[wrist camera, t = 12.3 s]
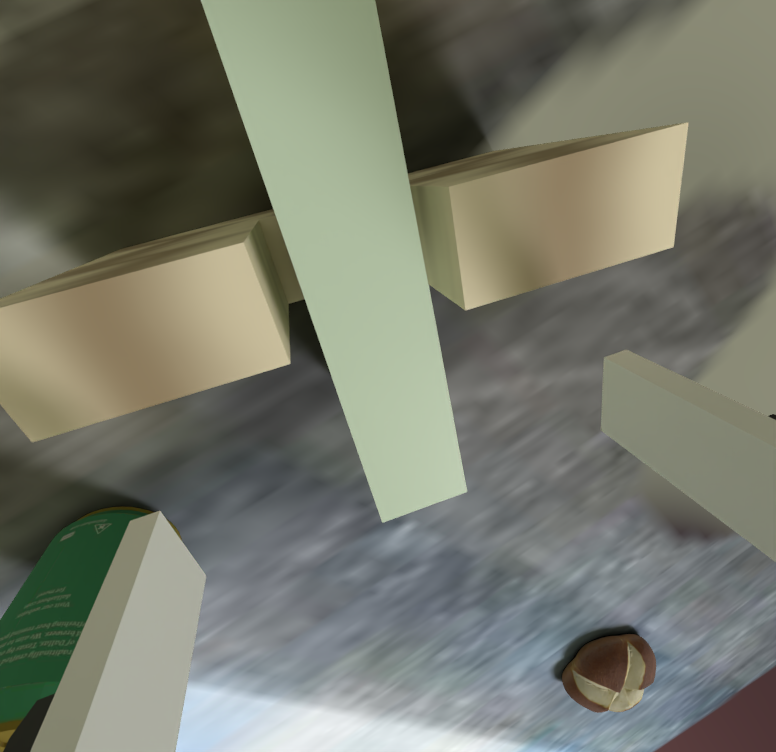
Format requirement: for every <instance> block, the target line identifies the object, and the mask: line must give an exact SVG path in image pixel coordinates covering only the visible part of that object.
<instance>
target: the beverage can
mask: <svg viewBox="0 0 776 752" xmlns="http://www.w3.org/2000/svg"><path fill="white" fill-rule="evenodd" d="M152 513H154V512H152V511H149V510H145V509H141V508H135V507H110V508H105V509H100V510H97V511H94V512H91V513H89V514H87V515H85V516H83V517H82V518H80V519H78V520H77V521H76V522H74V523H72V524H70V525H68V526H67V527H65V528H64V529H62V530H61V531H60V532H59V533H58V534H57V535H56V536H55V537H54V539H53V540H52V541H51V543H50V544H49V546H48V547H47V549H46V550H45V552H44V554H43V555H42V557H41V558H40V560H39V561H38V563H37V564H36V566H35V567H34V569H33V570H32V572H31V574H30V575H29V577H28V578H27V580H26V581H25V583H24V584H23V586H22V587H21V589H20V590H19V592H18V594H17V595H16V597H15V598H14V600H13V601H12V603H11V604H10V606H9V607H8V609H7V611H6V612H5V614H4V615H3V617H2V618H1V620H0V752H3V751H4V749H5V746H6V744H7V742H8V740H9V738H10V737H11V735H12V734H13V733H14V731H15V730H16V728H17V727H18V726H19V724H20V723H21V722H22V720H23V719H24V718H25V716H26V715H27V713H28V712H29V711H30V709H31V708H32V707H33V705H34V704H35V702H36V701H37V700H39V699H42V698H44V697H47V696H49V695H52V694H55V693H56V691H57V689H58V686H59V684H60V682H61V679H62V677H63V675H64V672H65V670H66V668H67V665H68V663H69V661H70V658H71V656H72V654H73V652H74V649H75V647H76V645H77V642H78V640H79V638H80V635H81V633H82V631H83V628H84V626H85V624H86V621H87V619H88V617H89V615H90V612H91V610H92V608H93V605H94V603H95V601H96V598H97V596H98V594H99V591H100V589H101V587H102V584H103V582H104V580H105V578H106V575H107V573H108V571H109V568H110V566H111V564H112V561H113V559H114V557H115V554H116V552H117V550H118V548H119V545H120V543H121V541H122V538H123V536H124V534H125V531H126V529H127V527H128V524H129V522H130V521H131V520H134V519H137V518H140V517H143V516H146V515H149V514H152ZM166 520H167V519H166ZM167 521H168V522H169V524H170V525H171V527H172V528H173V530H174V531H175V532H176V534H177V535H178V537H179V538H180V539H181V536H180V534H179V532H178V530H177V529H176V527H175V526H174V525H173V524H172V523H171V522H170V521H169V520H167ZM181 541H182V540H181Z"/></svg>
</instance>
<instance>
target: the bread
mask: <svg viewBox="0 0 776 752" xmlns="http://www.w3.org/2000/svg"><path fill="white" fill-rule="evenodd" d="M655 671H656V660H655V655H654V653H653V651H652V649H651V647H650V646H649V644H648V643H647V642H646V641H645V640H644V639H643V638H642V637H640V636H638V635H635V634H624V635H619V636H608V637H603V638H599V639H596V640H594V641H591V642H589V643H587V644H586V645H584V646H583V647H582V648H581V649H580V650H579V651H578V653H577V655H576V657H575V658H574V659H573V660H572V661H571V662H570V663H569V664H568V665H567V667H566V668H565V670H564V671H563V673H562V682H563V685H564V688H565V690H566V692H567V693H568V694H569V696H570V697H571V698H572V699H574V700H575V701H576V702H577V703H579V704H580V705H582V706H583V707H585V708H587V709H589V710H591V711H594V712H605V711H608V710H610V711H614V712H623V711H626V710H629V709H631V708H632V707H634V706H635V705H636V704H638V703H639V702H640V700H641V699H642V696H643V691H644V688H646V687H648V686H649V685H651V684H652V683H653V682H654V678H655Z"/></svg>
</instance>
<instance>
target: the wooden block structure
mask: <svg viewBox="0 0 776 752" xmlns="http://www.w3.org/2000/svg"><path fill="white" fill-rule="evenodd" d="M687 130H688V122H687V123H680V124H673V125H667V126H660V127H653V128H646V129H640V130H633V131H626V132H620V133H613V134H606V135H599V136H593V137H585V138H578V139H572V140H565V141H558V142H551V143H544V144H538V145H531V146H524V147H518V148H511V149H504V150H497V151H491V152H488V153H484V154H480V155H476V156H472V157H469V158H465V159H461V160H457V161H453V162H450V163H446V164H442V165H438V166H434V167H431V168H427V169H423V170H419V171H415V172H412V173H408V178H409V184H410V189H411V194H412V200H413V205H414V210H415V216H416V221H417V226H418V232H419V237H420V242H421V248H422V253H423V258H424V264H425V269H426V274H427V280H428V284H429V285H430V286H432V287H433V288H435V289H436V290H438V291H439V292H440V293H442V294H443V295H445V296H446V297H447V298H449V299H450V300H452V301H453V302H454V303H456V304H457V305H459V306H460V307H461V308H463V309H464V310H469V309H472V308H475V307H478V306H482V305H485V304H488V303H492V302H495V301H498V300H501V299H505V298H508V297H511V296H515V295H518V294H521V293H524V292H528V291H531V290H534V289H538V288H541V287H544V286H547V285H551V284H554V283H557V282H561V281H564V280H567V279H570V278H574V277H577V276H580V275H584V274H587V273H590V272H593V271H597V270H600V269H603V268H606V267H610V266H613V265H616V264H620V263H623V262H626V261H629V260H633V259H636V258H639V257H643V256H646V255H649V254H652V253H656V252H659V251H662V250H666V249H669V248H672V247H674V239H675V230H676V222H677V214H678V205H679V197H680V189H681V181H682V172H683V164H684V156H685V147H686V139H687ZM300 300H304V296H303V293H302V290H301V287H300V284H299V281H298V278H297V276H296V273H295V270H294V267H293V264H292V261H291V258H290V255H289V253H288V250H287V247H286V244H285V241H284V238H283V235H282V232H281V230H280V227H279V224H278V221H277V218H276V215H275V212H274V209H271V210H267V211H264V212H260V213H256V214H252V215H248V216H245V217H241V218H237V219H233V220H229V221H226V222H222V223H218V224H214V225H210V226H207V227H203V228H199V229H195V230H191V231H188V232H184V233H180V234H176V235H172V236H169V237H165V238H161V239H157V240H153V241H150V242H146V243H142V244H138V245H134V246H131V247H127V248H123V249H120V250H117V251H115V252H113V253H110V254H108V255H105V256H103V257H100V258H98V259H96V260H93V261H91V262H88V263H86V264H83V265H81V266H79V267H76V268H74V269H71V270H69V271H66V272H64V273H62V274H59V275H57V276H54V277H52V278H49V279H47V280H45V281H42V282H40V283H37V284H35V285H32V286H30V287H27V288H25V289H23V290H20V291H18V292H15V293H13V294H10V295H8V296H6V297H3V298H1V299H0V404H1V406H2V407H3V408H4V409H5V410H6V412H7V413H8V414H9V415H10V416H11V418H12V419H13V420H14V421H15V422H16V424H17V425H18V426H19V427H20V428H21V430H22V431H23V432H24V433H25V434H26V436H27V437H28V438H29V439H30V440H31V442H36V441H39V440H42V439H45V438H49V437H52V436H55V435H58V434H62V433H65V432H68V431H72V430H75V429H78V428H81V427H85V426H88V425H91V424H95V423H98V422H101V421H104V420H108V419H111V418H114V417H118V416H121V415H124V414H127V413H131V412H134V411H137V410H141V409H144V408H147V407H150V406H154V405H157V404H160V403H163V402H167V401H170V400H173V399H177V398H180V397H183V396H186V395H190V394H193V393H196V392H200V391H203V390H206V389H209V388H213V387H216V386H219V385H223V384H226V383H229V382H232V381H236V380H239V379H242V378H246V377H249V376H252V375H255V374H259V373H262V372H265V371H268V370H272V369H275V368H278V367H282V366H285V365H288V364H290V335H289V305H288V304H290V303H293V302H297V301H300Z"/></svg>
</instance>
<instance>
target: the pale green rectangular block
mask: <svg viewBox="0 0 776 752" xmlns="http://www.w3.org/2000/svg"><path fill="white" fill-rule="evenodd" d="M201 2H202V5H203V8H204V11H205V14H206V17H207V20H208V22H209V25H210V28H211V31H212V34H213V37H214V40H215V43H216V45H217V48H218V51H219V54H220V57H221V60H222V63H223V66H224V68H225V71H226V74H227V77H228V80H229V83H230V86H231V89H232V91H233V94H234V97H235V100H236V103H237V106H238V109H239V112H240V114H241V117H242V120H243V123H244V126H245V129H246V132H247V135H248V137H249V140H250V143H251V146H252V149H253V152H254V155H255V158H256V160H257V163H258V166H259V169H260V172H261V175H262V178H263V181H264V183H265V186H266V189H267V192H268V195H269V198H270V201H271V204H272V207H273V209H274V212H275V215H276V218H277V221H278V224H279V227H280V230H281V232H282V235H283V238H284V241H285V244H286V247H287V250H288V253H289V255H290V258H291V261H292V264H293V267H294V270H295V273H296V276H297V278H298V281H299V284H300V287H301V290H302V293H303V296H304V299H305V301H306V304H307V307H308V310H309V313H310V316H311V319H312V322H313V324H314V327H315V330H316V333H317V336H318V339H319V342H320V345H321V347H322V350H323V353H324V356H325V359H326V362H327V365H328V368H329V370H330V373H331V376H332V379H333V382H334V385H335V388H336V391H337V393H338V396H339V399H340V402H341V405H342V408H343V411H344V414H345V417H346V419H347V422H348V425H349V428H350V431H351V434H352V437H353V440H354V442H355V445H356V448H357V451H358V454H359V457H360V460H361V463H362V465H363V468H364V471H365V474H366V477H367V480H368V483H369V486H370V488H371V491H372V494H373V497H374V500H375V503H376V506H377V509H378V511H379V514H380V517H381V520H382V523H383V522H386V521H388V520H391V519H394V518H397V517H399V516H402V515H405V514H408V513H410V512H413V511H416V510H419V509H421V508H424V507H427V506H430V505H433V504H435V503H438V502H441V501H444V500H446V499H449V498H452V497H455V496H457V495H460V494H463V493H466V492H467V488H466V483H465V477H464V472H463V467H462V461H461V456H460V451H459V445H458V440H457V435H456V429H455V424H454V419H453V413H452V408H451V403H450V397H449V392H448V387H447V381H446V376H445V371H444V365H443V360H442V355H441V349H440V344H439V339H438V333H437V328H436V323H435V317H434V312H433V307H432V301H431V296H430V290H429V285H428V280H427V274H426V269H425V264H424V258H423V253H422V248H421V242H420V237H419V232H418V226H417V221H416V216H415V210H414V205H413V200H412V194H411V189H410V184H409V178H408V173H407V168H406V162H405V157H404V152H403V146H402V141H401V136H400V130H399V125H398V120H397V114H396V109H395V104H394V98H393V93H392V88H391V82H390V77H389V71H388V66H387V61H386V55H385V50H384V45H383V39H382V34H381V29H380V23H379V18H378V13H377V7H376V2H375V0H201Z"/></svg>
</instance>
